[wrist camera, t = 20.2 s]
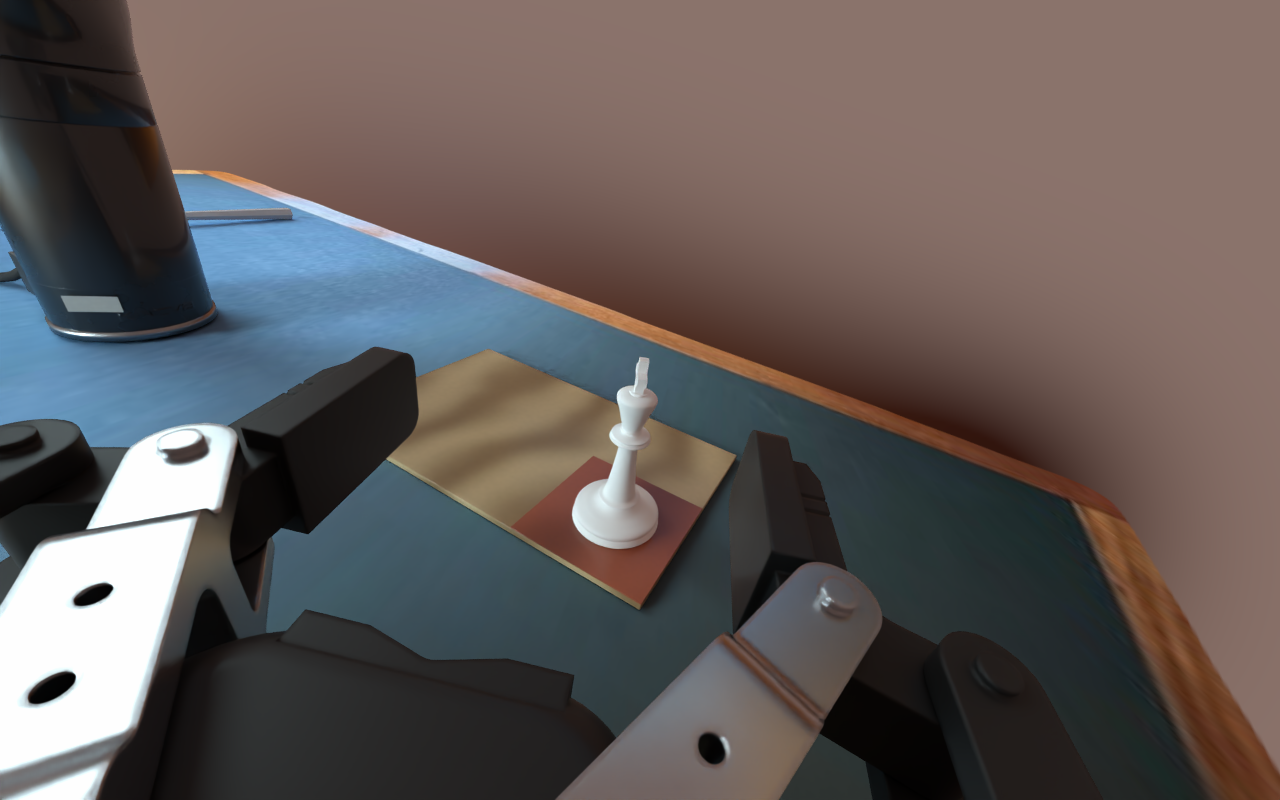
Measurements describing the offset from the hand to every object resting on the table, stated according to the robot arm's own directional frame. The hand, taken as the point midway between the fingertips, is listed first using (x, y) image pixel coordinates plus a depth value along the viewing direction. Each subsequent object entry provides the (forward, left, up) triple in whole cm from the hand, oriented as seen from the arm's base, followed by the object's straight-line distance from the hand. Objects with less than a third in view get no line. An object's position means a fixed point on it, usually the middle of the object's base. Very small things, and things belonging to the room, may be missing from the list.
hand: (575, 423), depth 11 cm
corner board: (-11, +14, -14) cm, 22 cm away
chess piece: (-3, +10, -13) cm, 17 cm away
